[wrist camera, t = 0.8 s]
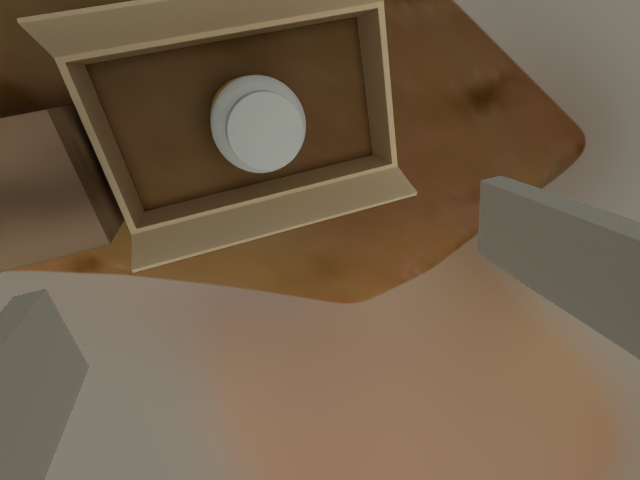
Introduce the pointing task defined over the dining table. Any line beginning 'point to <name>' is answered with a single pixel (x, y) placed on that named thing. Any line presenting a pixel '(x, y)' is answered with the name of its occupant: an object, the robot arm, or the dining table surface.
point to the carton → (241, 203)
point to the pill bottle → (257, 123)
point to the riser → (51, 189)
